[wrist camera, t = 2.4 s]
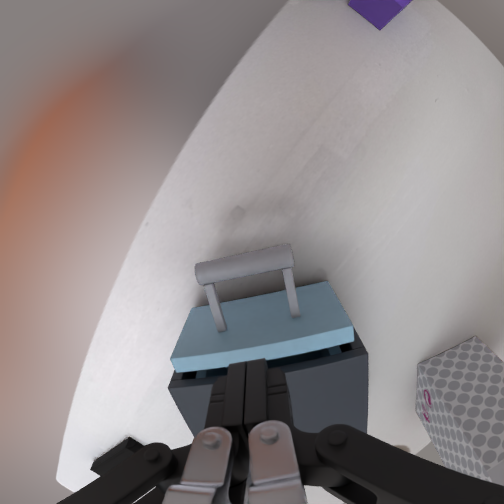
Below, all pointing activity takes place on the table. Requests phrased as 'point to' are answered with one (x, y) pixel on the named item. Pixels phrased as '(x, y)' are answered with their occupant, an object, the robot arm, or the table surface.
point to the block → (379, 10)
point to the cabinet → (297, 391)
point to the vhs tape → (115, 456)
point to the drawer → (260, 319)
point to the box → (465, 409)
